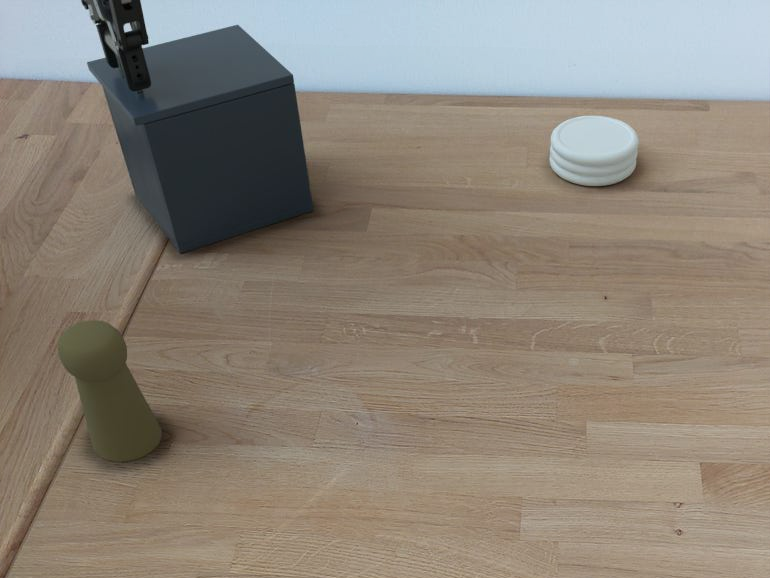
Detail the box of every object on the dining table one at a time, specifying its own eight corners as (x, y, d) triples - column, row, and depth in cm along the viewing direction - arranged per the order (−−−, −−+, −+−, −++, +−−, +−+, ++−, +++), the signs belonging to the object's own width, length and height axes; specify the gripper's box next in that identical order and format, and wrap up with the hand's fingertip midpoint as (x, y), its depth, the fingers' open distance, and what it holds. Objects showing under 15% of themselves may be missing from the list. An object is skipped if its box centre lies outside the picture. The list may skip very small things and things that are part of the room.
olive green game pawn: (77, 444, 84) (29, 338, 75) (128, 406, 87) (88, 300, 78) (125, 471, 82) (82, 366, 73) (176, 432, 85) (141, 326, 76)
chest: (180, 253, 101) (144, 124, 91) (135, 195, 108) (96, 68, 97) (313, 210, 106) (294, 83, 95) (262, 157, 113) (239, 32, 102)
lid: (135, 126, 90) (119, 69, 86) (88, 70, 97) (71, 15, 93) (294, 83, 95) (286, 27, 91) (239, 32, 102) (229, -22, 98)
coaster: (652, 163, 112) (657, 132, 109) (600, 198, 108) (603, 167, 105) (584, 135, 116) (587, 104, 113) (531, 167, 111) (532, 136, 109)
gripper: (-1, -157, 82) (69, 58, 96) (50, -108, 75) (117, 117, 89) (85, -172, 84) (141, 40, 98) (142, -125, 77) (194, 96, 91)
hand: (129, 75), depth 93 cm, fingers closed on lid, 5 cm apart
